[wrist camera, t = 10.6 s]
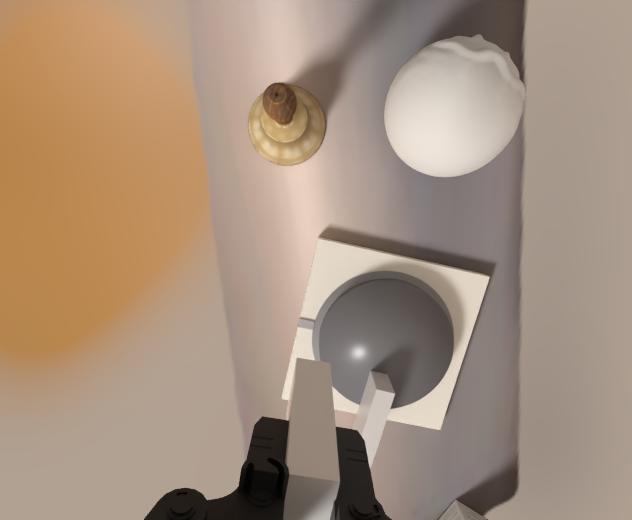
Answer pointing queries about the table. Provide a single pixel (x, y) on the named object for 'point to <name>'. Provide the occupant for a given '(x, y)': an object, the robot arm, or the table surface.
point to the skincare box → (460, 513)
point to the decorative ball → (454, 106)
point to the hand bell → (286, 124)
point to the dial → (385, 350)
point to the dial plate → (369, 264)
